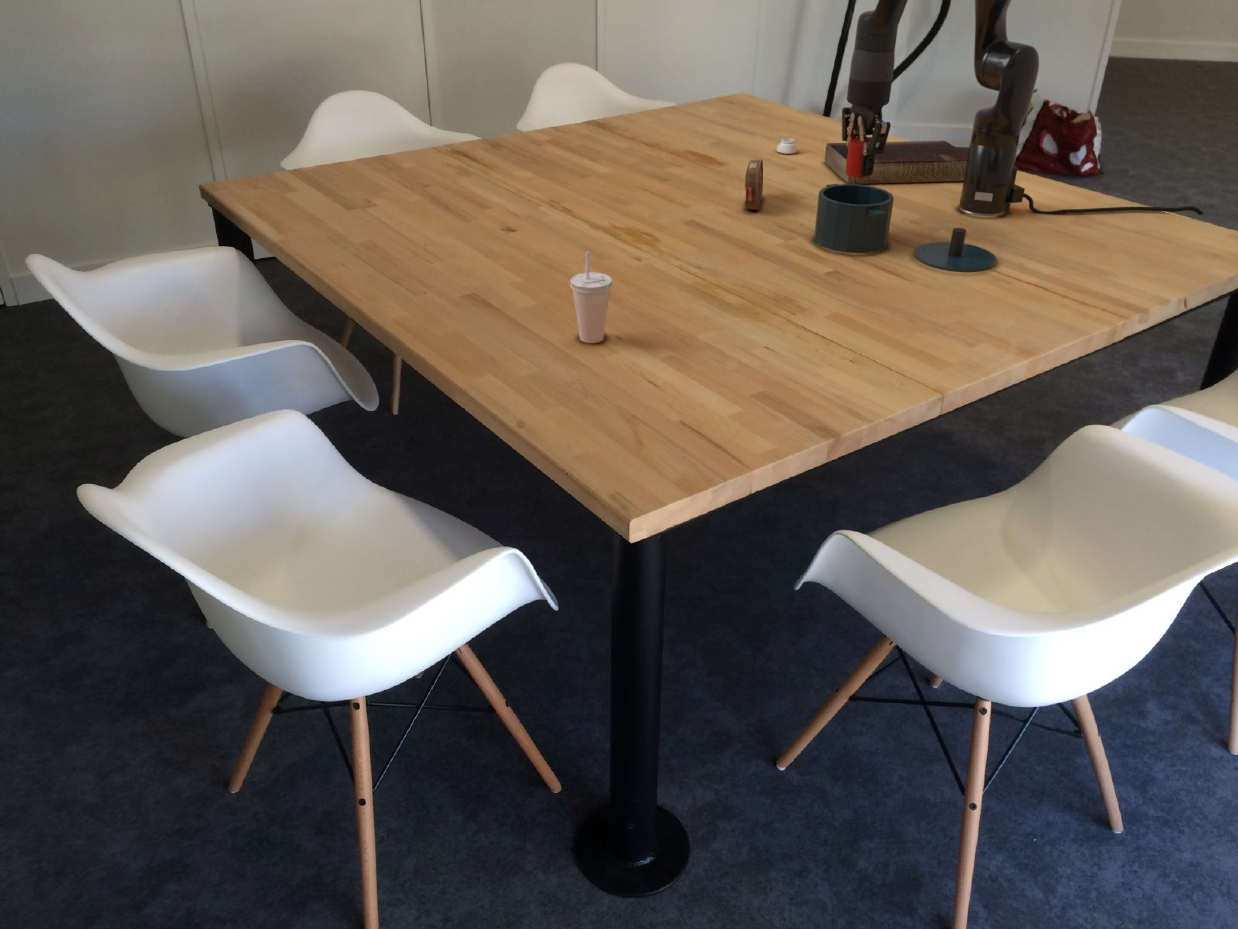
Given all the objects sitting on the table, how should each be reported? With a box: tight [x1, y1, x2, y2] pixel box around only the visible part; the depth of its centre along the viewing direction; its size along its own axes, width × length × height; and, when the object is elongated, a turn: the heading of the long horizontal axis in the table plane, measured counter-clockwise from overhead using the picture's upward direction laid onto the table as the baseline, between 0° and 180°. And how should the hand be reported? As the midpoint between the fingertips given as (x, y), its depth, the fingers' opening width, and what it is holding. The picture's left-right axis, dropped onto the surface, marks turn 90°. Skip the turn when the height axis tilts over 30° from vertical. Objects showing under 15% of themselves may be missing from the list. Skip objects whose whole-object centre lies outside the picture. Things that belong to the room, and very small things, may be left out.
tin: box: [744, 159, 764, 211], centre depth 223 cm, size 15×3×8 cm, turn 168°
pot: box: [813, 183, 894, 254], centre depth 202 cm, size 14×19×10 cm
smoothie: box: [570, 251, 613, 344], centre depth 162 cm, size 6×6×14 cm
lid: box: [913, 227, 997, 273], centre depth 195 cm, size 15×15×6 cm
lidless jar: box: [776, 138, 798, 155], centre depth 260 cm, size 5×3×5 cm
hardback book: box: [824, 140, 968, 184], centre depth 245 cm, size 29×19×5 cm, turn 97°
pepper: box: [846, 138, 871, 178], centre depth 195 cm, size 5×5×8 cm
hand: (858, 170), depth 197 cm, fingers closed on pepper, 4 cm apart
